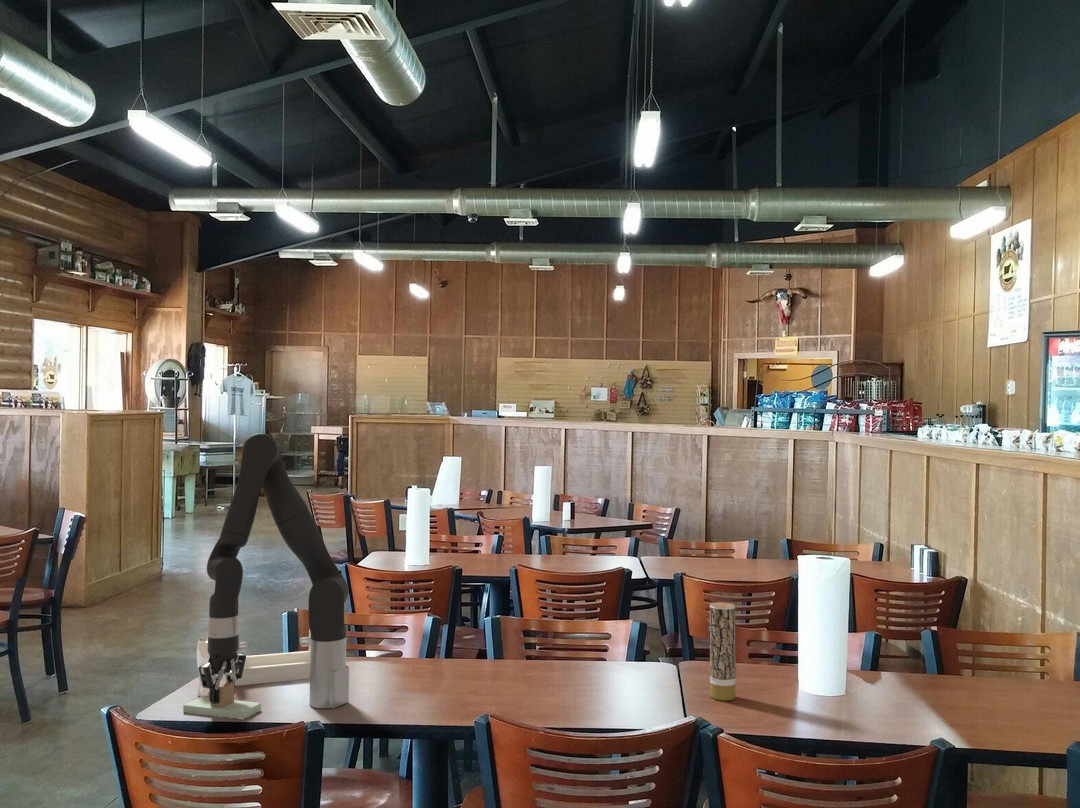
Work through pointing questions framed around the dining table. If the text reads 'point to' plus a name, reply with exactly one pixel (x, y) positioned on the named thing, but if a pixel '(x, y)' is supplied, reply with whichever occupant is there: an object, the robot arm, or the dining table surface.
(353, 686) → the dining table surface
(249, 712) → the shelf board
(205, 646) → the beer glass
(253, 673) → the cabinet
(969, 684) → the dining table surface
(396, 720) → the dining table surface
